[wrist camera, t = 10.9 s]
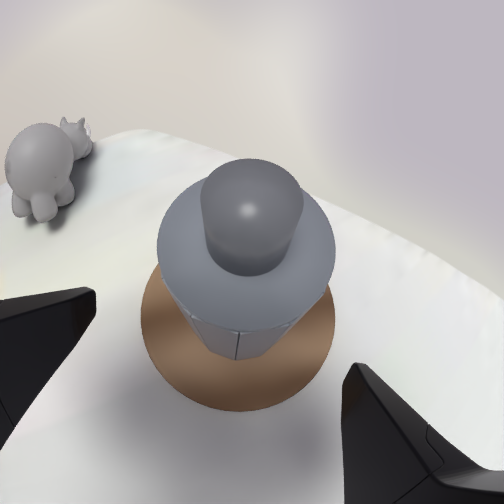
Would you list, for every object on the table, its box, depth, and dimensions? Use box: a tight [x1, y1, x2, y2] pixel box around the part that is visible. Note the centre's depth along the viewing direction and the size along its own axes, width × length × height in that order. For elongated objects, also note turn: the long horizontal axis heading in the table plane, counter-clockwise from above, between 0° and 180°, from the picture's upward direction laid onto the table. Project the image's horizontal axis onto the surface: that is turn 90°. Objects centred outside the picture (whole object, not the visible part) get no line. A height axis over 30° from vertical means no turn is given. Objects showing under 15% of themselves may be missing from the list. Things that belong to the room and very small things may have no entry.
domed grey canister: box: [157, 159, 335, 361], centre depth 14 cm, size 7×7×13 cm
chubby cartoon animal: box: [5, 117, 93, 223], centre depth 22 cm, size 7×12×8 cm, turn 165°
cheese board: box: [141, 263, 335, 412], centre depth 20 cm, size 14×14×4 cm
